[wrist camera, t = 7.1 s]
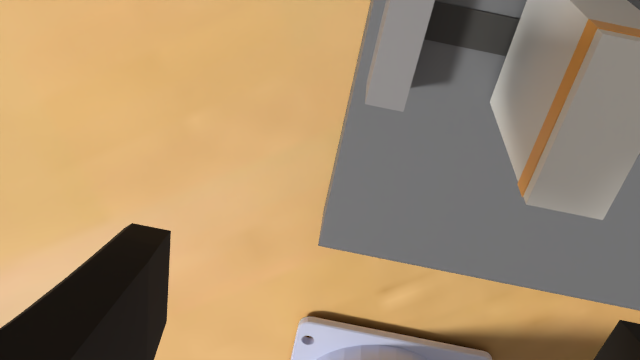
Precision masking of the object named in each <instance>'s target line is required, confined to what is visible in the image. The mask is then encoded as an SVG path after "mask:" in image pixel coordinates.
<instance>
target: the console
mask: <svg viewBox="0 0 640 360" xmlns="http://www.w3.org/2000/svg"><path fill="white" fill-rule="evenodd" d="M526 1H527V0H371V3H370V7H369V11H368V16H367V20H366V25H365V29H364V34H363V38H362V43H361V47H360V52H359V56H358V60H357V65H356V69H355V74H354V78H353V83H352V87H351V92H350V96H349V100H348V105H347V109H346V114H345V118H344V123H343V127H342V132H341V136H340V141H339V145H338V149H337V154H336V158H335V163H334V167H333V172H332V176H331V181H330V185H329V190H328V194H327V198H326V203H325V207H324V212H323V218H322V225H321V231H320V238H319V244H318V246H322V247H327V248H332V249H337V250H342V251H347V252H352V253H357V254H362V255H367V256H372V257H377V258H382V259H387V260H392V261H397V262H402V263H407V264H412V265H417V266H422V267H427V268H431V269H436V270H441V271H446V272H451V273H456V274H461V275H466V276H471V277H476V278H481V279H486V280H491V281H496V282H501V283H506V284H511V285H516V286H521V287H526V288H531V289H536V290H541V291H546V292H550V293H555V294H560V295H565V296H570V297H575V298H580V299H585V300H590V301H595V302H600V303H605V304H610V305H615V306H620V307H625V308H630V309H635V310H640V153H639V155H638V157H637V159H636V161H635V162H634V164H633V166H632V168H631V170H630V172H629V173H628V175H627V177H626V179H625V181H624V183H623V184H622V186H621V188H620V190H619V192H618V194H617V195H616V197H615V199H614V201H613V203H612V205H611V206H610V208H609V210H608V212H607V214H606V216H605V217H604V219H603V220H600V219H595V218H590V217H585V216H580V215H575V214H570V213H565V212H561V211H556V210H551V209H546V208H541V207H536V206H531V205H526V203H525V200H524V197H522V196H521V193H520V190H519V187H518V180H517V178H516V175H515V172H514V169H513V166H512V163H511V161H510V158H509V155H508V152H507V149H506V147H505V144H504V141H503V138H502V135H501V132H500V130H499V127H498V124H497V121H496V118H495V116H494V113H493V110H492V107H491V104H490V100H491V97H492V94H493V91H494V89H495V86H496V83H497V81H498V78H499V75H500V72H501V70H502V67H503V64H504V61H505V59H506V56H507V53H508V51H509V48H510V45H511V42H512V40H513V37H514V34H515V31H516V29H517V26H518V23H519V21H520V18H521V15H522V12H523V10H524V7H525V4H526ZM627 1H629V2H630V3H631V4H632V5H634V6H635V7H636V8H638V9H639V10H640V0H627Z"/></svg>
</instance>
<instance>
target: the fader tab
mask: <svg viewBox="0 0 640 360" xmlns="http://www.w3.org/2000/svg"><path fill="white" fill-rule="evenodd" d="M490 104H491V107H492V110H493V113H494V116H495V118H496V121H497V124H498V127H499V130H500V132H501V135H502V138H503V141H504V144H505V147H506V149H507V152H508V155H509V158H510V161H511V163H512V166H513V169H514V172H515V175H516V178H517V180H518V187H519V190H520V193H521V196H522V197H524V200H525V203H526V205H531V206H536V207H541V208H546V209H551V210H556V211H561V212H565V213H570V214H575V215H580V216H585V217H590V218H595V219H600V220H603V219H604V217H605V216H606V214H607V212H608V210H609V208H610V206H611V205H612V203H613V201H614V199H615V197H616V195H617V194H618V192H619V190H620V188H621V186H622V184H623V183H624V181H625V179H626V177H627V175H628V173H629V172H630V170H631V168H632V166H633V164H634V162H635V161H636V159H637V157H638V155H639V153H640V10H639V9H638V8H636V7H635V6H634V5H632V4H631V3H630V2H629V1H627V0H527V1H526V4H525V7H524V10H523V12H522V15H521V18H520V21H519V23H518V26H517V29H516V31H515V34H514V37H513V40H512V42H511V45H510V48H509V51H508V53H507V56H506V59H505V61H504V64H503V67H502V70H501V72H500V75H499V78H498V81H497V83H496V86H495V89H494V91H493V94H492V97H491V100H490Z"/></svg>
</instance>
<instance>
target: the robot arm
mask: <svg viewBox="0 0 640 360" xmlns="http://www.w3.org/2000/svg"><path fill="white" fill-rule="evenodd" d="M170 234H171V231H168V230H163V229H158V228H153V227H148V226H143V225H138V224H133V223H132V224H130V225H129V226H127V227H125V228H124V229H123V230H122V231H121V232H120V233H118V234H117V235H116V236H115V237H114V238H113V239H111V240H110V241H109V242H108V243H107V244H106V245H104V246H103V247H102V248H101V249H100V250H99V251H98V252H96V253H95V254H94V255H93V256H92V257H90V258H89V259H88V260H87V261H86V262H85V263H83V264H82V265H81V266H80V267H78V268H77V269H76V270H75V271H74V272H72V273H71V274H70V275H69V276H68V277H66V278H65V279H64V280H63V281H61V282H60V283H59V284H58V285H56V286H55V287H54V288H53V289H51V290H50V291H49V292H47V293H46V294H45V295H44V296H42V297H41V298H40V299H39V300H37V301H36V302H35V303H33V304H32V305H31V306H30V307H28V308H27V309H26V310H25V311H23V312H22V313H21V314H19V315H18V316H17V317H15V318H14V319H13V320H11V321H10V322H9V323H7V324H6V325H4V326H3V327H2V328H0V360H154V357H155V354H156V351H157V348H158V345H159V342H160V339H161V336H162V333H163V330H164V327H165V324H166V321H167V300H168V278H169V256H170ZM305 336H311V338H308V337H305ZM291 360H492V357H491V355H490V354H489V353H488V352H485V351H482V350H477V349H472V348H467V347H462V346H457V345H452V344H447V343H442V342H437V341H432V340H427V339H422V338H417V337H412V336H407V335H402V334H397V333H392V332H387V331H382V330H377V329H372V328H367V327H362V326H357V325H352V324H347V323H342V322H337V321H332V320H327V319H322V318H317V317H309V316H308V317H304V318H302V319H301V320H300V322H299V324H298V329H297V333H296V337H295V342H294V346H293V351H292V355H291ZM594 360H640V324H637V323H632V322H627V321H622V320H620V321H619V322H618V324H617V325H616V327H615V328H614V330H613V331H612V333H611V334H610V336H609V337H608V339H607V340H606V342H605V343H604V345H603V346H602V348H601V349H600V351H599V352H598V354H597V355H596V357H595V358H594Z"/></svg>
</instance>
